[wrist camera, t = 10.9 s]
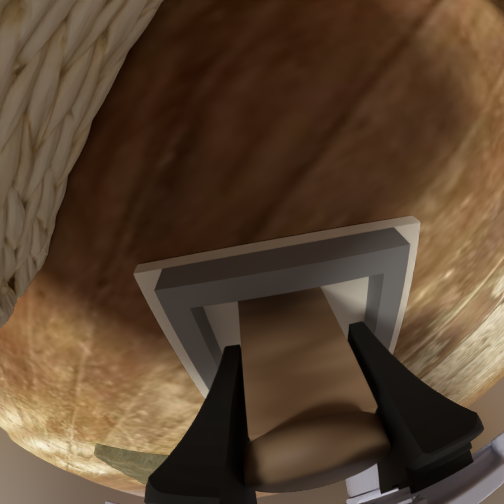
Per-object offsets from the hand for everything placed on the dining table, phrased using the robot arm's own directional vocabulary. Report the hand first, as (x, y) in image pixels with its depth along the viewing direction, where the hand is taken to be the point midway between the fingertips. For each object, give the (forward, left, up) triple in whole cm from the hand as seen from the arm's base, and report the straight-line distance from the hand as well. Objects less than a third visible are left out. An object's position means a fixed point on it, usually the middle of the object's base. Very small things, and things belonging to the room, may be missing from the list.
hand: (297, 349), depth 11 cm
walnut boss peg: (0, +1, -2) cm, 3 cm away
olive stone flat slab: (+24, +37, -4) cm, 45 cm away
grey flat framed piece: (0, +7, -3) cm, 8 cm away
